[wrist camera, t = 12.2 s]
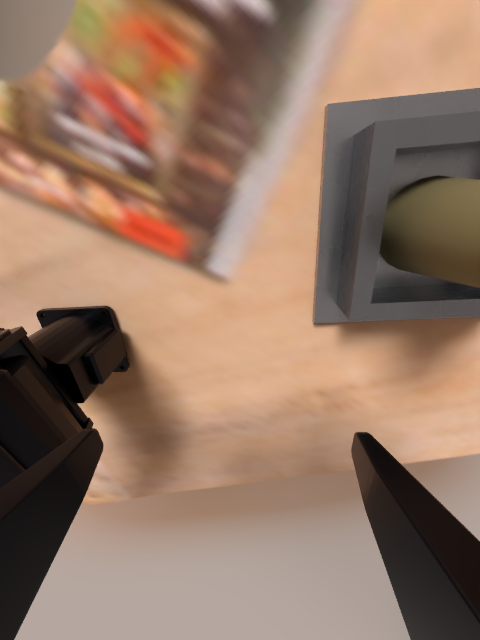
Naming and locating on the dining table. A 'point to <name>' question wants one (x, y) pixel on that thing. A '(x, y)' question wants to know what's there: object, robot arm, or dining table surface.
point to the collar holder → (376, 193)
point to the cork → (435, 229)
